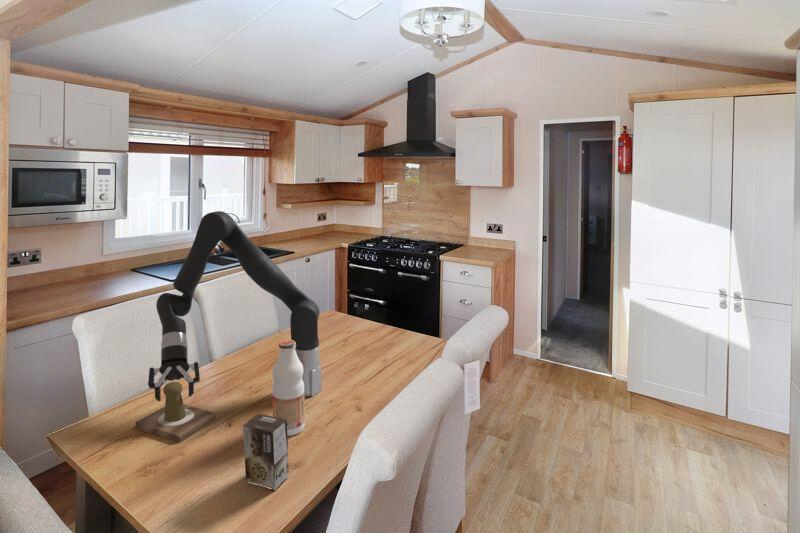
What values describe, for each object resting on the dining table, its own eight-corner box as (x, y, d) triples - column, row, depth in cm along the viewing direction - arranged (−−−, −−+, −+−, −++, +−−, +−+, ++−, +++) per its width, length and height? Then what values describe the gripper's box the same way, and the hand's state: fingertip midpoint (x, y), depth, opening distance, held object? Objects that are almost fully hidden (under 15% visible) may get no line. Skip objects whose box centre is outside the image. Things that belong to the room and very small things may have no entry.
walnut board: (216, 419, 142) (216, 412, 142) (180, 442, 129) (179, 435, 129) (174, 407, 148) (173, 400, 148) (135, 428, 136) (135, 421, 135)
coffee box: (289, 476, 116) (288, 419, 113) (275, 492, 110) (273, 432, 107) (260, 467, 119) (258, 412, 116) (244, 482, 113) (241, 424, 110)
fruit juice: (284, 440, 131) (282, 350, 126) (267, 428, 138) (264, 342, 132) (311, 428, 138) (310, 342, 133) (293, 417, 144) (292, 334, 139)
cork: (189, 412, 141) (187, 380, 139) (178, 422, 135) (176, 389, 133) (171, 411, 142) (169, 378, 140) (159, 421, 136) (156, 387, 134)
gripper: (147, 347, 139) (146, 397, 131) (198, 341, 144) (199, 390, 136) (150, 356, 144) (149, 406, 136) (199, 351, 150) (200, 398, 142)
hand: (174, 398), depth 136 cm, fingers open, 8 cm apart
